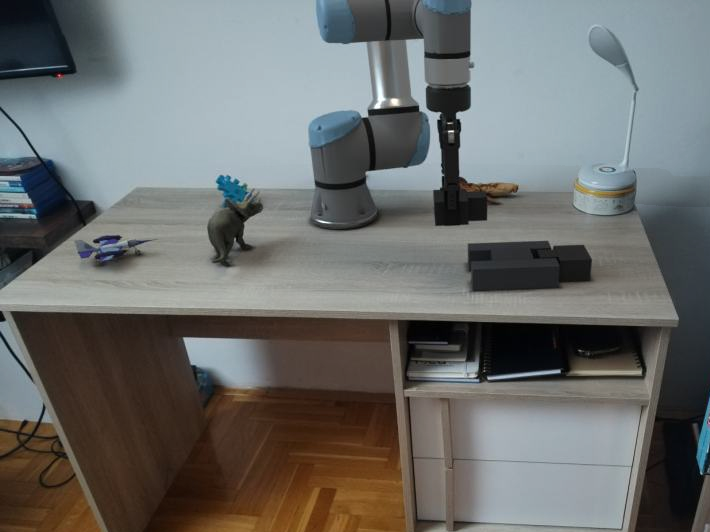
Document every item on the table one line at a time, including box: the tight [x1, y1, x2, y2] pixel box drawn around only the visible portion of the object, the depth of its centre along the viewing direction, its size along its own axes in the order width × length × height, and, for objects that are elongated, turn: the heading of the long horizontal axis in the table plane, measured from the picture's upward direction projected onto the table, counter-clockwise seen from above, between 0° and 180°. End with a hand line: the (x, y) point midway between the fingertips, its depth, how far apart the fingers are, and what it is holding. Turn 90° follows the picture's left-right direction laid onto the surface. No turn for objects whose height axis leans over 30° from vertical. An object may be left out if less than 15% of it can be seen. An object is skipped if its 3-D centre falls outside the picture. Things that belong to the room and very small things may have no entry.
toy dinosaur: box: [206, 188, 264, 267], centre depth 131 cm, size 22×8×11 cm, turn 168°
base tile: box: [467, 240, 560, 292], centre depth 124 cm, size 12×16×4 cm
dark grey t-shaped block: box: [432, 189, 488, 227], centre depth 118 cm, size 7×10×4 cm
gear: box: [214, 174, 255, 207], centre depth 159 cm, size 11×6×10 cm
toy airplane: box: [74, 234, 163, 266], centre depth 133 cm, size 13×14×4 cm
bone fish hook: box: [459, 176, 520, 205], centre depth 162 cm, size 9×5×18 cm
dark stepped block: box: [537, 244, 593, 283], centre depth 124 cm, size 7×10×4 cm
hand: (450, 217), depth 119 cm, fingers closed on dark grey t-shaped block, 7 cm apart
